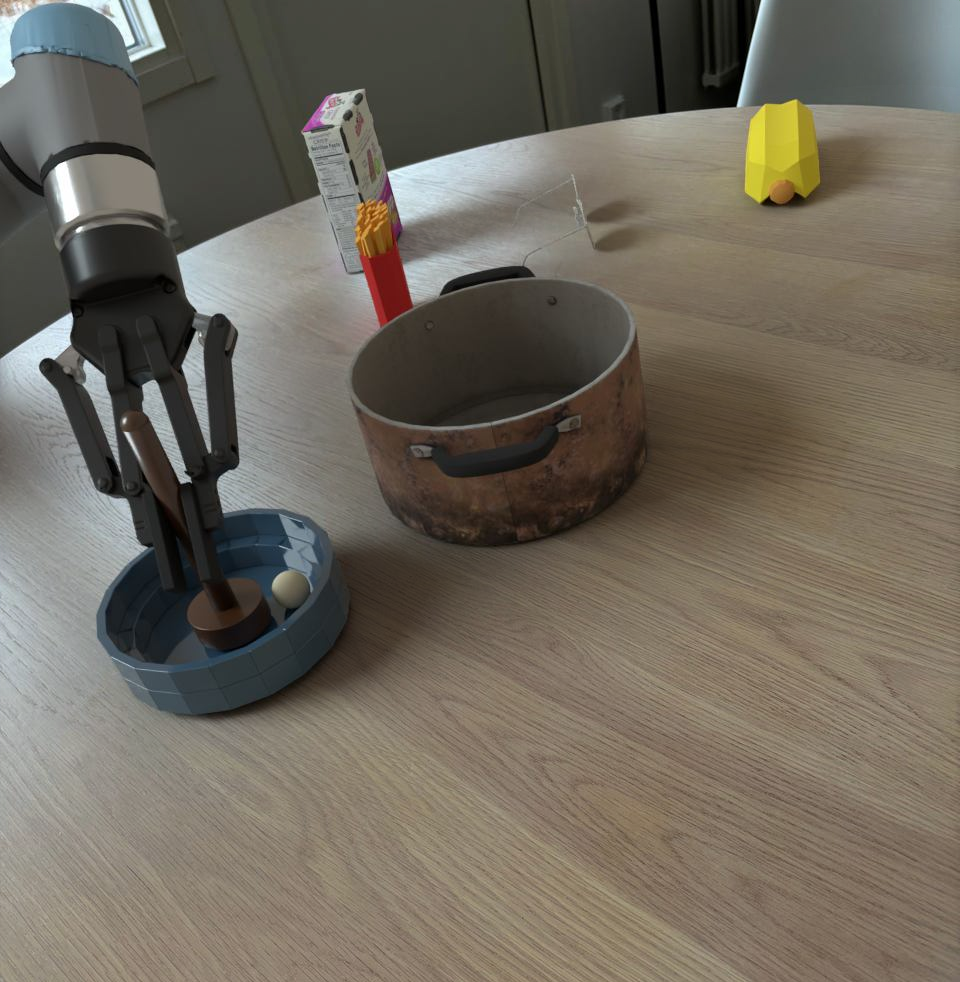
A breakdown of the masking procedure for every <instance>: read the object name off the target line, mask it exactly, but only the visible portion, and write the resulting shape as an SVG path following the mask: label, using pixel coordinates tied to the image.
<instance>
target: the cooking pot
mask: <svg viewBox="0 0 960 982" xmlns="http://www.w3.org/2000/svg"><path fill="white" fill-rule="evenodd" d="M346 373H347V374H346V380H345V382H346V386H347V391H348V396H349V398H350V402H351V405H352V407H353V411H354V413H355V417H356V421H357V423H358V427H359V430H360V432H361V435H362V439H363V442H364V445H365V448H366V451H367V453H368V456H369V460H370V462H371V466H372V468H373V472H374V475H375V478H376V481H377V484H378V485H377V486H378V487H379V490H380V492H381V496H382V498H383V500H384V503H385V504H386V506H387V508H388V509H389V511H390V512H391V514H392V515H393V516H394V517H395V518H396V519H397V520H398V521H400V522H401V523H402V524H403V525H404V526H406V527H408V528H409V529H411V530H414V531H415V532H417V533H419V534H421V535H423V536H425V537H427V538H431V539H433V540H438V541H441V542H444V543H448V544H456V545H462V546H463V545H464V546H479V547H480V546H488V547H489V546H490V547H491V546H494V547H495V546H503V545H512V544H520V543H524V542H528V541H533V540H538V539H541V538H545V537H548V536H551V535H554V534H556V533H559V532H563V531H564V530H568V529H570V528H572V527H574V526H576V525H579V524H581V523H582V522H584V521H587V520H588V519H590V518H593V517H594V516H595V515H597V514H598V513H599V512H601V511H603V510H604V509H606V508H607V507H609V506H610V505H612V504H613V502H615V501H616V500H617V499H618V498H619V497H620V496H621V495H622V494H623V493H624V492H625V491H626V490H627V489H628V488H629V487H630V486H631V484H632V483H633V482H634V480H635V479H636V477H637V476H638V474H639V473H640V472H641V470H642V467H643V465H644V463H645V461H646V459H647V456H648V450H649V449H648V448H649V427H648V416H647V407H646V400H645V390H644V382H643V381H644V380H643V373H642V363H641V355H640V346H639V339H638V329H637V322H636V319H635V315H634V311H633V310H632V308H631V307H630V306H629V304H628V303H627V302H626V301H625V300H624V299H623V298H622V297H620V296H619V295H618V294H616V293H615V292H613V291H612V290H610V289H607V288H605V287H603V286H600V285H598V284H595V283H592V282H587V281H584V280H580V279H574V278H565V277H555V276H554V277H553V276H549V277H547V276H546V277H545V276H543V277H542V276H536V274H535V273H533V272H532V270H531V269H530V268H529V267H527V266H525V265H524V266H522V265H507V266H499V267H494V268H489V269H484V270H480V271H479V270H478V271H475V272H471V273H467V274H464V275H461V276H458V277H455V278H453V279H450V280H449V281H447V282H446V283H445V285H444V286H443V288H442V289H441V291H440V292H439V295H438V296H436V297H434V298H432V299H429V300H428V301H425V302H422V303H421V304H418V305H416V306H413V308H412V309H410V310H408V311H407V312H405V313H403V314H401V315H399V316H397V317H396V318H394V319H393V320H391V321H390V322H388V323H387V324H386V325H384V326H383V327H380V328H379V329H378V330H376V331H375V332H374V333H373V334H372V335H370V337H369V338H367V339H366V340H365V342H364V343H363V344H362V345H361V346H360V347H359V349H358V350H357V351H356V352H355V353H354V355H353V358H352V360H351V362H350V363H349V366H348V368H347V372H346Z"/></svg>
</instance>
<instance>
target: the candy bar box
mask: <svg viewBox="0 0 960 982" xmlns="http://www.w3.org/2000/svg"><path fill="white" fill-rule="evenodd" d="M366 92H367V91H366V89H365V88H359V89H354V90H348V91H341V92H339V93H338V92H336V93H331V94H330V95H327V96H325V98H324V99H323V101H322V102H321V104H320V105H319V107H318V108H317V109H316V111H315V112H314V113H313V115H312V116H311V117H310V119H309V120H308V122H306V124H305V126H304V127H303V129H302V130H301V131H300V132H301V136H302V139H303V142H304V145H305V148H306V150H307V155H308V157H309V161H310V163H311V167H312V170H313V173H314V176H315V179H316V183H317V186H318V189H319V192H320V195H321V198H322V201H323V204H324V207H325V209H326V210H325V211H326V213H327V214H326V215H327V217H328V220H329V222H330V225H331V229H332V232H333V236H334V238H335V241H336V245H337V248H338V251H339V254H340V257H341V260H342V263H343V267H344V270H345V272H346V274H347V275H353V274H354V275H355V274H361V273H364V270H363V267H362V264H361V261H360V257H359V255H360V253H359V250H358V248H357V245H356V243H355V239H356V238H357V236H356V233H355V229H356V228H357V223H356V221H357V217H358V216H359V215H358V213H357V207H358V205H359V204H360V203H361V204H362V202H363V204H364V206H366V204H365V203H366V202H367V201H368V200H369V199H370V200H371V202H372V201H373V200H375V201H376V207H377V204H378V203H379V202H380V201H381V200H382V203H383V205H384V204H385V203H386V205H387V207H388V211H389V219H390V226H392V227H393V230H394V234H395V238H396V241H398V239H399V237H400V235H401V233H402V231H403V229H404V227H403V224H402V221H401V218H400V214H399V209H398V207H397V202H396V198H395V195H394V192H393V188H392V184H391V181H390V177H389V173H388V170H387V166H386V163H385V160H384V154H383V151H382V147H381V144H380V141H379V140H380V139H379V135H378V133H377V130H376V126H375V121H374V120H373V114H372V111H371V108H370V103H369V99H368V97H367V93H366Z"/></svg>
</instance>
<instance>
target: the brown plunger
mask: <svg viewBox="0 0 960 982" xmlns="http://www.w3.org/2000/svg"><path fill="white" fill-rule="evenodd" d="M120 426H121V429H122V431H123V433H124V435H125V437H126V439H127V441H128V443H129V445H130V447H131V449H132V451H133V453H134V455H135V457H136V459H137V461H138V463H139V465H140V467H141V468H142V470H143V472H144V474H145V476H146V478H147V480H148V482H149V484H150V486H151V488H152V490H153V492H154V494H155V496H156V498H157V500H158V502H159V504H160V506H161V508H162V510H163V512H164V514H165V516H166V518H167V519H168V521H169V523H170V525H171V527H172V529H173V531H174V533H175V535H176V537H177V539H178V541H179V543H180V545H181V547H182V549H183V551H184V553H185V555H186V557H187V559H188V561H189V563H190V565H191V567H192V569H193V571H194V572H195V574H196V576H197V578H198V580H199V582H200V584H201V586H202V588H203V591H201V592H200V593H199V594H198V595H197V596H196V597H195V598H194V599H193V601H192V602H191V604H190V606H189V608H188V612H187V618H188V621H189V622H190V624H191V626H192V628H193V630H194V632H195V634H196V636H197V637H198V639H199V641H200V642H201V644H203V645H204V646H205V647H207V648H210V649H214V650H226V649H232V648H236V647H239V646H241V645H244V644H246V643H248V642H250V641H251V640H253V639H254V638H256V637H257V636H258V635H259V634H260V633H261V632H262V631H263V630H264V629H265V628H266V626H267V625H268V623H269V621H270V618H271V609H270V606H269V604H268V602H267V600H266V598H265V595H264V593H263V591H262V589H261V587H260V585H259V584H258V583H257V582H255V581H253V580H251V579H248V578H230V579H227V578H226V576H225V574H224V572H223V570H222V568H221V571H222V576H223V580H224V583H220V584H216V585H211V584H208V583H204V582H201V581H200V576H199V572H198V568H197V563H196V559H195V555H194V550H193V546H192V542H191V538H190V533H189V529H188V525H187V520H186V516H185V512H184V507H183V503H182V499H181V494H180V490H179V486H178V484H182V483H181V482H180V479H179V477H178V475H177V473H176V471H175V469H174V467H173V465H172V463H171V461H170V459H169V456H168V454H167V452H166V450H165V448H164V446H163V444H162V442H161V440H160V438H159V435H158V434H157V431H156V430H155V428H154V426H153V423H152V421H151V419H150V417H149V416H148V415H147V413H145V411H144V410H143V411H141V410H138V409H131V410H128V411H126V412H125V413H124V414H123V415H122V417H121V420H120ZM220 567H221V566H220Z"/></svg>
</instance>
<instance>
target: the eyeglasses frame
mask: <svg viewBox="0 0 960 982" xmlns="http://www.w3.org/2000/svg"><path fill="white" fill-rule="evenodd" d="M571 182H573V186H574V190H575V195H576V199H575V200H576V202H577V204H578V207H577V206H573V207H572V211H573V213H574V219H575V221H576V223H577V225H578V227H579V228H577V229H575V230H572V231H571V232H569V233H567V234H565V235H563V236H561V237H559V238H557V239H555V240H553V241H551V242H549V243H547V244H545V245H542V246H540V247H537V248H536V249H534V250H532V251H529V253H527V254H526V255H525V256H524V259H523V261H522V263H521V266H525V264H526V261H527V258H528V257H529V256H530V255H532V254H534V253H535V252H537V251H539V250H542V249H543V248H545V247H547V246H549V245H551V244H553V243H556V242H558V241H561V240H562V239H565V238H566V237H569V236H572V235H573V234H575V233H578V232H579V231H582V230H584V229H586V232H587V234H588V237H589V241H590V242H591V245H592V248H593V250H595V249H596V245H595V242H594V239H593V236H592V233H591V230H590V227H589V224H588V217H587V214H586V211H585V208H584V205H583V202H582V200H581V195H580V192H579V189H578V186H577V183H576V179H575V176H574V174H573V173H571V179H568V180H567V181H565V182H563V183H561V184H559V185H557V186H555V187H553V188H552V189H549V190H548V191H546V192H545V193H542V194H540V195H539V196H537V197H535V198H533V199H531V200H529V201H527V202H525V203H524V204H522V205H521V206H519V208H518V209H517V211H516V214H515V217H514V220H513V223H512V227H516V223H517V219H518V216H519V213H520V210H521V209H523V208H524V207H525V206H526V205H528V204H530V203H532V202H533V201H535V200H537V199H539V198H541V197H543V196H545V195H547V194H549V193H550V192H552V191H554V190H557V189H559V188H560V187H562V186H565V185H567V184H568V183H571ZM580 212H581V213H580ZM582 220H583V221H582ZM583 224H584V225H583Z"/></svg>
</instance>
